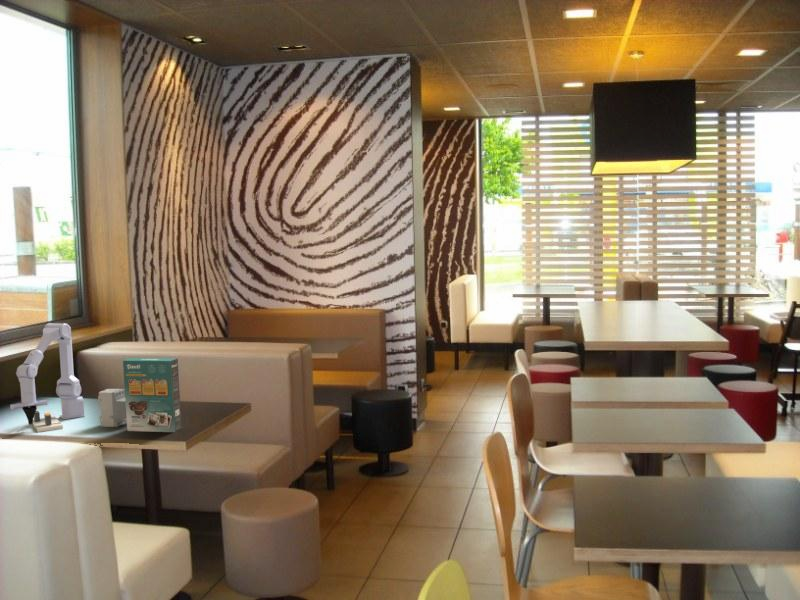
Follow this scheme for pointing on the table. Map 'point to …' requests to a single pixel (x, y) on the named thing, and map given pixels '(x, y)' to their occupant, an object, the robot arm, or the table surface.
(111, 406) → the circuit breaker
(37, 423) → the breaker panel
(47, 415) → the breaker handle
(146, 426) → the cake mix box
